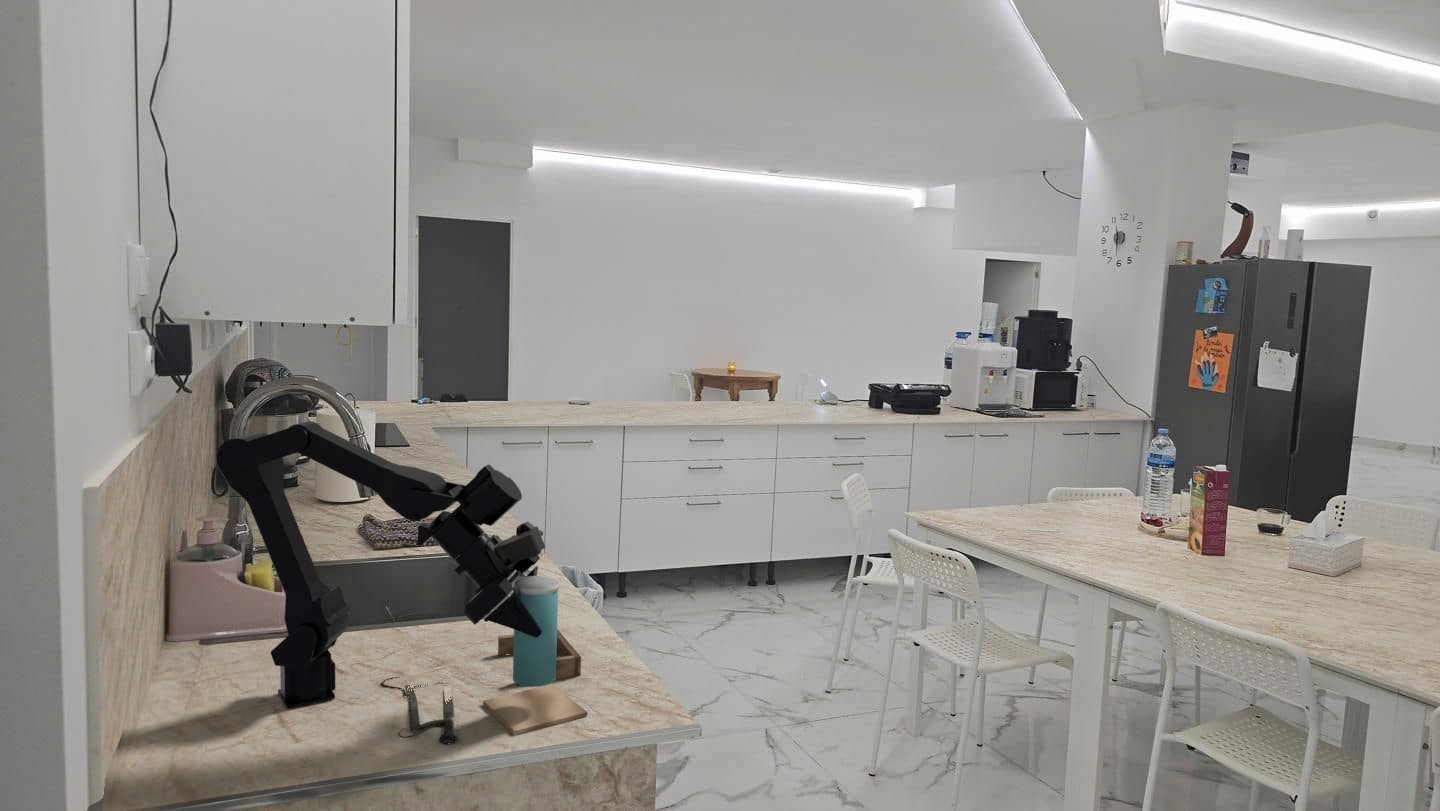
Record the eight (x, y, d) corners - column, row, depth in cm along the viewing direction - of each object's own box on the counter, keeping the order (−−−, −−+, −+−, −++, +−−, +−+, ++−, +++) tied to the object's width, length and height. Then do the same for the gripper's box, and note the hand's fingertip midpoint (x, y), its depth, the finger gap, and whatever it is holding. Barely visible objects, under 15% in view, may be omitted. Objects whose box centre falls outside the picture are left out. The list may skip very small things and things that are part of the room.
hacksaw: (457, 747, 120) (457, 737, 120) (373, 757, 117) (373, 746, 116) (451, 674, 143) (451, 665, 142) (381, 681, 139) (381, 671, 139)
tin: (510, 687, 127) (512, 589, 125) (514, 669, 133) (516, 575, 131) (555, 686, 128) (558, 589, 126) (557, 668, 134) (560, 576, 132)
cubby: (517, 684, 139) (517, 665, 139) (498, 654, 151) (498, 636, 150) (580, 675, 143) (581, 656, 143) (557, 646, 155) (557, 628, 155)
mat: (514, 735, 123) (514, 730, 123) (483, 704, 132) (483, 700, 132) (587, 715, 130) (587, 711, 130) (552, 687, 138) (552, 684, 138)
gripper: (490, 525, 118) (572, 612, 119) (527, 495, 137) (598, 571, 138) (430, 580, 120) (511, 666, 120) (474, 543, 138) (545, 618, 139)
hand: (545, 627), depth 129 cm, fingers closed on tin, 6 cm apart
